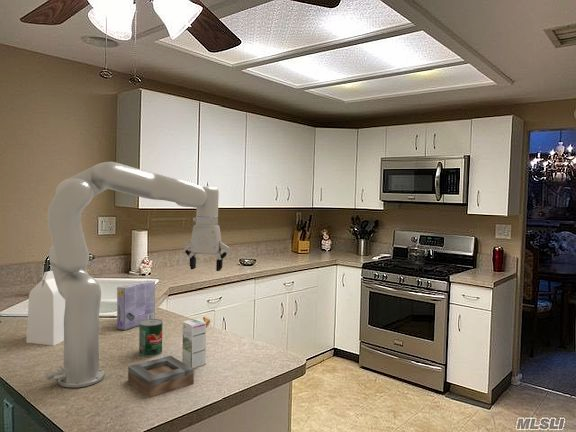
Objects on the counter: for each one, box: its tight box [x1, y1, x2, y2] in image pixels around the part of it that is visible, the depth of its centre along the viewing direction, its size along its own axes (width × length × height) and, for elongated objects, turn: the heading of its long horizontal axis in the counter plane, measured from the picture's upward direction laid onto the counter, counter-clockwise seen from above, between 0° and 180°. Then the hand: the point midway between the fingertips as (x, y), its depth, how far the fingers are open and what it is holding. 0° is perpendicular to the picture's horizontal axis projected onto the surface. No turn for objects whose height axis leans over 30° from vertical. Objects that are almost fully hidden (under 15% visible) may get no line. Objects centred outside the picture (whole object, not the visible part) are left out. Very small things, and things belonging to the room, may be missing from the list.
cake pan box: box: [116, 280, 156, 331], centre depth 189 cm, size 19×5×18 cm, turn 155°
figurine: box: [202, 316, 211, 329], centre depth 161 cm, size 8×6×12 cm
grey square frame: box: [127, 355, 195, 398], centre depth 132 cm, size 14×14×4 cm
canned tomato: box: [138, 318, 163, 358], centre depth 156 cm, size 8×8×11 cm
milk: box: [26, 270, 65, 346], centre depth 167 cm, size 12×12×26 cm
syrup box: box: [182, 318, 207, 369], centre depth 146 cm, size 6×6×14 cm
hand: (205, 269), depth 157 cm, fingers open, 9 cm apart
